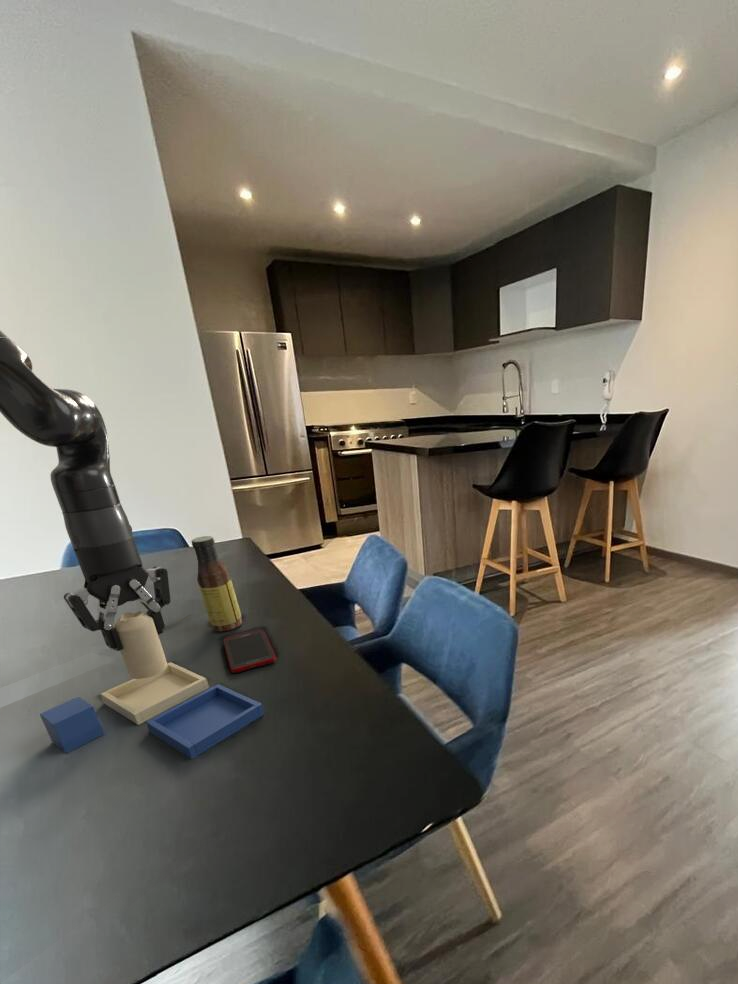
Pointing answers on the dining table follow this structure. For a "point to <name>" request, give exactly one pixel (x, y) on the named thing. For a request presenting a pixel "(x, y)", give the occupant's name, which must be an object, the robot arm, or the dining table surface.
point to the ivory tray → (154, 693)
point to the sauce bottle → (216, 586)
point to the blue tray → (204, 720)
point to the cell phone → (248, 651)
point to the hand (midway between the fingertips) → (138, 640)
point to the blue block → (72, 724)
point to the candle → (140, 645)
